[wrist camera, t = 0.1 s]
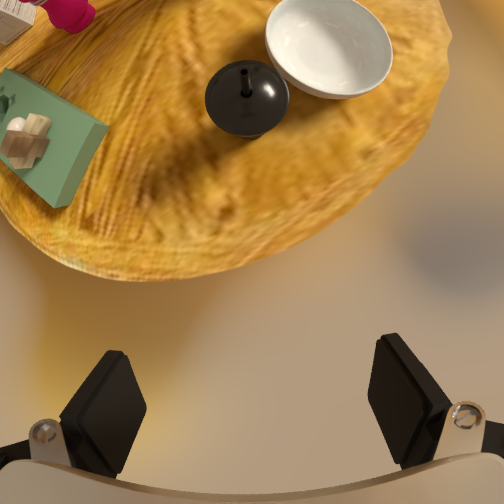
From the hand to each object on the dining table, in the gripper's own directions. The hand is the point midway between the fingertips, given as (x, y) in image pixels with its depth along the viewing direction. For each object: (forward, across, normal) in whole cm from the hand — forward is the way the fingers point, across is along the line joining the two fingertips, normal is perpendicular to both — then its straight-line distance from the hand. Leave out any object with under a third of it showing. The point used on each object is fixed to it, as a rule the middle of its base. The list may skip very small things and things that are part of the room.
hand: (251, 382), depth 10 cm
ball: (+25, +35, -21) cm, 48 cm away
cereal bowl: (+31, -12, -25) cm, 42 cm away
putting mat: (+31, +36, -22) cm, 53 cm away
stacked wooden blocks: (+26, +31, -17) cm, 44 cm away
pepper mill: (+31, +27, -42) cm, 59 cm away
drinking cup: (+31, 0, -14) cm, 35 cm away
